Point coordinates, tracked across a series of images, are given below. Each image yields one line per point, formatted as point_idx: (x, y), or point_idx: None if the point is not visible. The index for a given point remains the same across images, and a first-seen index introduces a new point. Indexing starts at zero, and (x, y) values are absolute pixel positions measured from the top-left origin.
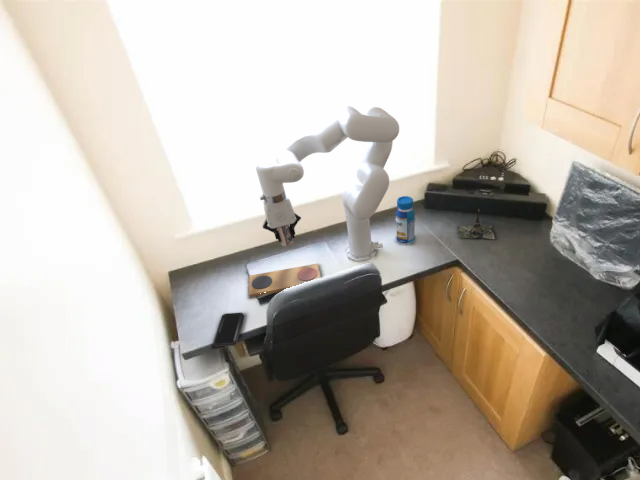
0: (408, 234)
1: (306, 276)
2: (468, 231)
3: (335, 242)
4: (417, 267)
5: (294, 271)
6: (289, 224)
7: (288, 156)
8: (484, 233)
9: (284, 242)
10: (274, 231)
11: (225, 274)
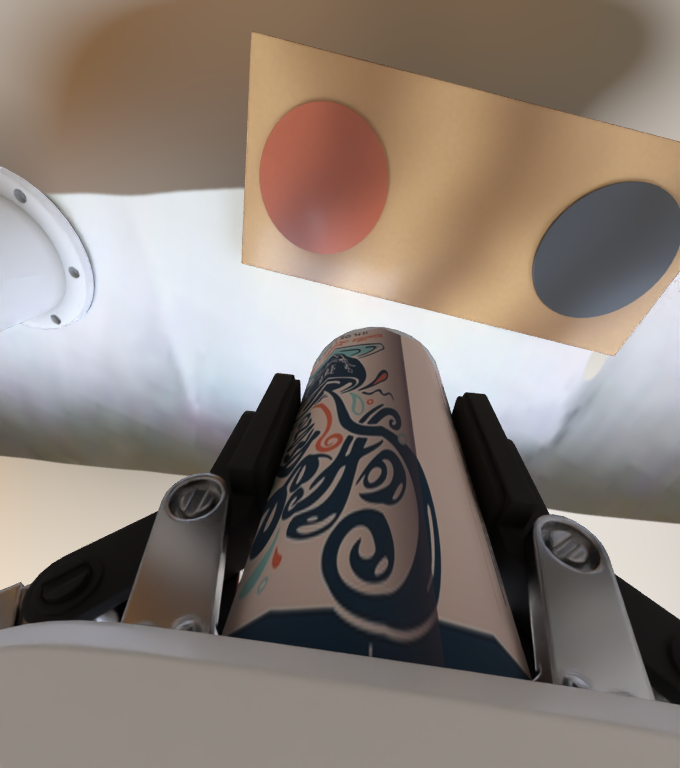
0: None
1: (334, 156)
2: None
3: (149, 389)
4: None
5: (384, 259)
6: (211, 604)
7: None
8: None
9: (419, 365)
10: (592, 570)
11: (672, 432)
